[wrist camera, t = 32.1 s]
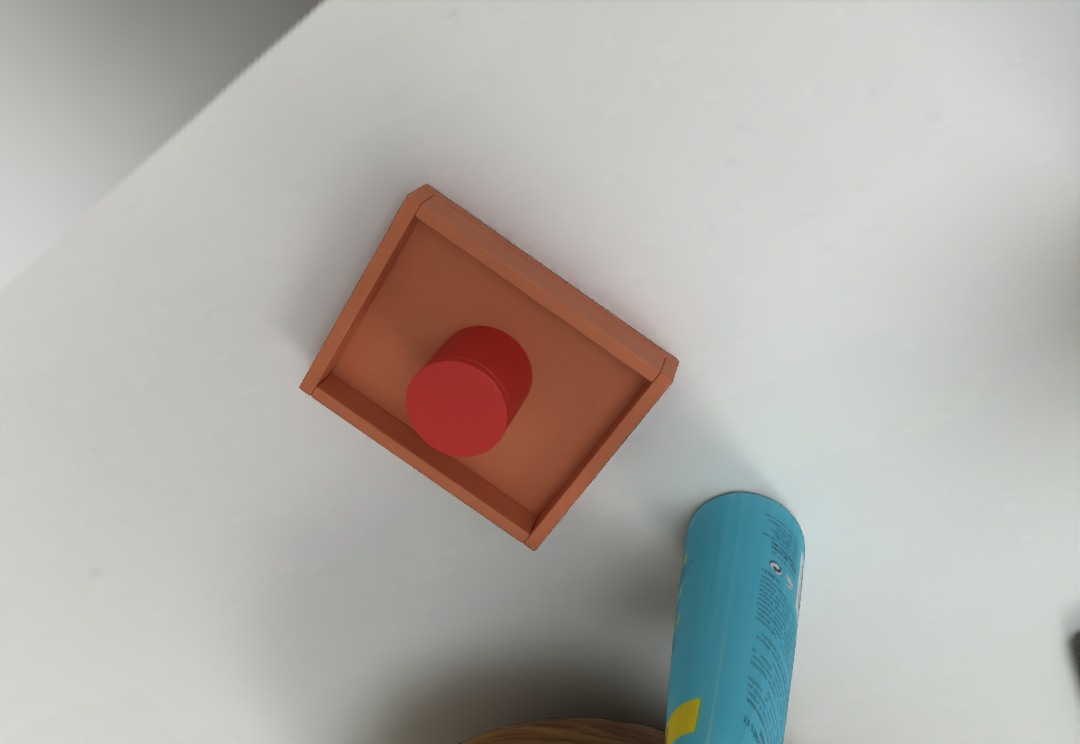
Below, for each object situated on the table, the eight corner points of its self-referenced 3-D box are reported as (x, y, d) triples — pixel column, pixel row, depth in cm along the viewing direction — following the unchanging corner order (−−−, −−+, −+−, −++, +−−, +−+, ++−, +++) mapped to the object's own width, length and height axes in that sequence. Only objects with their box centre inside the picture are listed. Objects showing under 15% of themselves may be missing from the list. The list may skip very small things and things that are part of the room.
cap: (529, 423, 40) (504, 467, 37) (437, 407, 41) (404, 448, 38) (535, 333, 38) (509, 370, 35) (440, 318, 39) (405, 352, 36)
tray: (319, 369, 42) (298, 388, 40) (426, 182, 38) (407, 194, 36) (545, 527, 43) (534, 552, 41) (679, 361, 38) (673, 381, 36)
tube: (666, 475, 40) (563, 865, 23) (782, 455, 38) (763, 860, 21) (712, 620, 42) (649, 1072, 25) (823, 607, 41) (836, 1082, 24)
